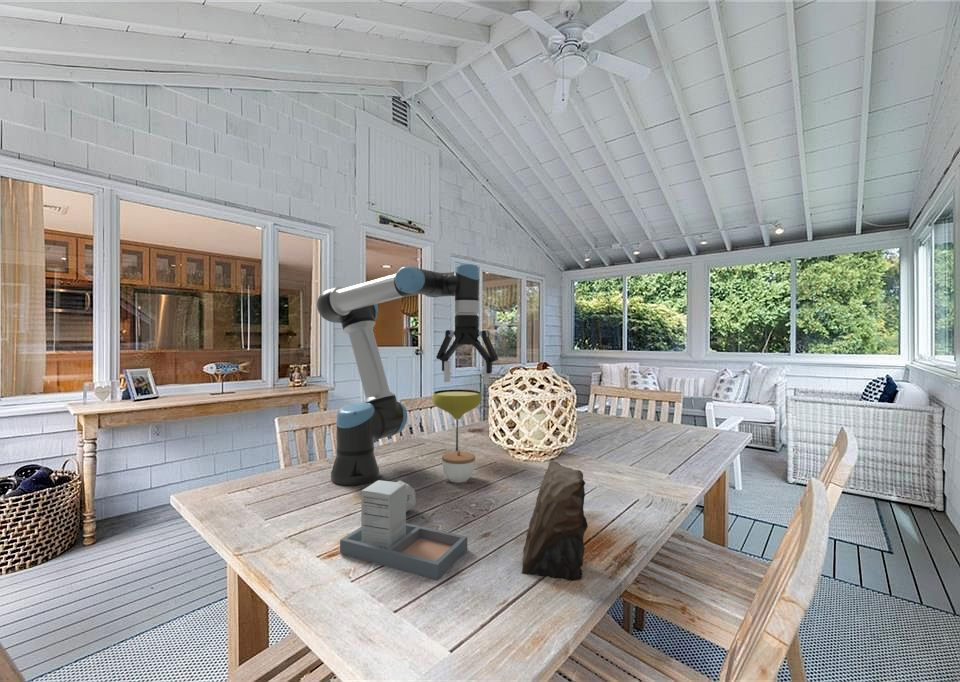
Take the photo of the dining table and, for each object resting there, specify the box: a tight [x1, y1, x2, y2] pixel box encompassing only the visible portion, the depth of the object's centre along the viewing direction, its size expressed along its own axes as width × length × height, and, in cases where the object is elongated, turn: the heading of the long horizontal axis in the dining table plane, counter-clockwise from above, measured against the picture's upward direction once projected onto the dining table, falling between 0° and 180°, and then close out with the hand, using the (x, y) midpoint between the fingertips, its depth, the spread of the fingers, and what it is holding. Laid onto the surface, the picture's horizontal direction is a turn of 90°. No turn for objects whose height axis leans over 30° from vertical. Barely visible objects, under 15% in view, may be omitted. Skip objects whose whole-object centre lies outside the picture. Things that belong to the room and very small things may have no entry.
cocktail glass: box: [432, 389, 482, 452], centre depth 166 cm, size 18×18×25 cm
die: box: [397, 479, 417, 513], centre depth 117 cm, size 8×9×10 cm
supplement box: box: [360, 479, 407, 549], centre depth 98 cm, size 7×7×13 cm
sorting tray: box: [339, 522, 468, 581], centre depth 96 cm, size 24×13×3 cm, turn 66°
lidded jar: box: [441, 449, 476, 484], centre depth 144 cm, size 11×11×9 cm
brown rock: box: [521, 460, 589, 582], centre depth 91 cm, size 13×13×20 cm
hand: (466, 383), depth 139 cm, fingers open, 13 cm apart
